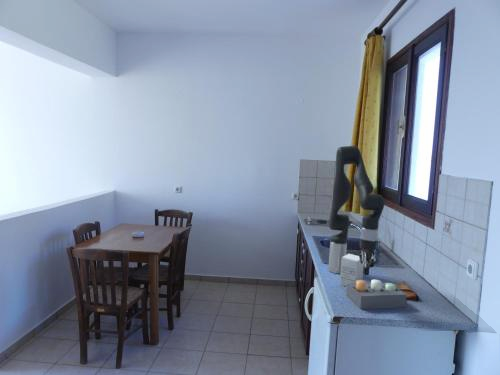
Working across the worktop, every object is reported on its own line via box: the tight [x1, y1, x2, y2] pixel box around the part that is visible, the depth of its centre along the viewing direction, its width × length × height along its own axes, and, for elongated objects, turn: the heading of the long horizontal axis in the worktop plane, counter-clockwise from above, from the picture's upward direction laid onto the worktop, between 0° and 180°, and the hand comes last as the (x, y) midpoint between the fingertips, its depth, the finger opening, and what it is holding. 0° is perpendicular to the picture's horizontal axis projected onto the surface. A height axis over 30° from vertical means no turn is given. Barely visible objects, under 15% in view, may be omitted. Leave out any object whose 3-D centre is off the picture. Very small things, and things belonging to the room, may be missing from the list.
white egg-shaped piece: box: [370, 279, 383, 291], centre depth 162 cm, size 5×5×6 cm
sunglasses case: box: [394, 280, 420, 302], centre depth 173 cm, size 18×7×7 cm
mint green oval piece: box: [385, 282, 396, 291], centre depth 163 cm, size 5×5×6 cm
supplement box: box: [339, 253, 364, 288], centre depth 181 cm, size 9×9×15 cm
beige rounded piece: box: [356, 279, 368, 292], centre depth 160 cm, size 5×5×6 cm
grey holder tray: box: [345, 282, 407, 310], centre depth 162 cm, size 14×22×6 cm, turn 100°
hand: (365, 274), depth 160 cm, fingers closed
